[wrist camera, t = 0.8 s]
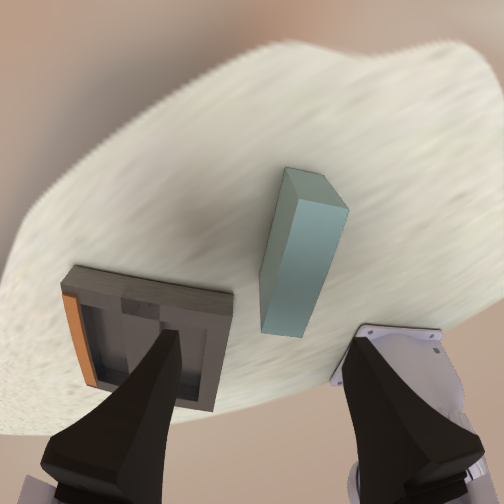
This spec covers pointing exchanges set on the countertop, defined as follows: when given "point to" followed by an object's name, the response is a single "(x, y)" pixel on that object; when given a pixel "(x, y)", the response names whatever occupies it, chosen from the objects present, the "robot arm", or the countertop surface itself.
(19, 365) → the countertop surface
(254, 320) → the countertop surface
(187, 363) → the panel rack
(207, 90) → the countertop surface
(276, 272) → the panel
